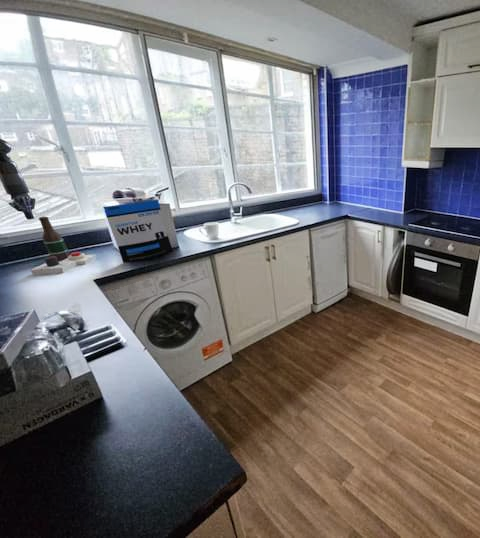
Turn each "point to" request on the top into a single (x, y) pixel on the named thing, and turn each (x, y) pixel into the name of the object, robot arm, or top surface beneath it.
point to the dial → (51, 261)
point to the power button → (75, 254)
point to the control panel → (54, 268)
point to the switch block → (81, 258)
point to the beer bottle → (53, 241)
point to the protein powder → (139, 230)
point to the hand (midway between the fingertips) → (30, 219)
